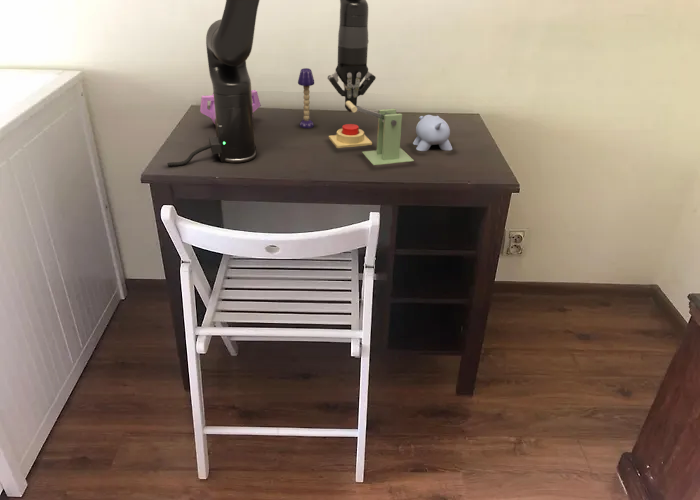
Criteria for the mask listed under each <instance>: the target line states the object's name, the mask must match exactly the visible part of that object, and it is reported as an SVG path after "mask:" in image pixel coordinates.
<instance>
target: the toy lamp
mask: <svg viewBox="0 0 700 500" xmlns="http://www.w3.org/2000/svg"><path fill="white" fill-rule="evenodd" d="M314 78H315V77H314V75H313V71H312V69H311V68H307V67H306V68H305V67H304V68H301V69H300V71H299V74H298V79H297V84H298V85H299V86H302V87H303V91H302V93H303V119H302V120H301V121H300V122H299V127H300V128H301V129H312V128H314V127H315V124H314V121H313V120H311V119H310V108H311V107H310V102H311V101H310V99H311V98H310V97H311V96H310V87H313V86H314V85H315V79H314Z"/></svg>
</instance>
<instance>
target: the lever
mask: <svg viewBox="0 0 700 500" xmlns="http://www.w3.org/2000/svg"><path fill="white" fill-rule="evenodd" d="M346 106H347V107H348V108H349V109H350V110H351V111H352V112H351V113H357V112H358V113H362V114H365V115H368V116H371V117H374V118H377V119H378V118H380V119H382V121H383V122H384V115H389V114H390V113H387V112H385V114H384V115H383V114H380V113H378V112H377V111H374V110H370V109H367V108H364V107H362V106H359V105H357V106H356V105H354V104H353V103H351V102H350V101H347V102H346Z"/></svg>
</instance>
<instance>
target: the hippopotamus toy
mask: <svg viewBox="0 0 700 500" xmlns="http://www.w3.org/2000/svg"><path fill="white" fill-rule="evenodd" d="M418 119H419V121H417V122H418V123H417V124H416V127H415V133H416V137H415V138H414V141H413V142H412V144H413V145H414V146H416V148H415V150H416V151H419V152H420V151H421V152H427V151H429V150H430V149H431V146H435V145H438V147H439V148H440V150H442V151H452V150H453V146H452V144H451V141H450V140H449V138H450V135H451V129H450V126H449V124H448V123H447V122H446V120H444V119H443V118H441V117H440V116H439V115H432V114H426V115H420V116H419V117H418Z"/></svg>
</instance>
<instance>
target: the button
mask: <svg viewBox="0 0 700 500" xmlns="http://www.w3.org/2000/svg"><path fill="white" fill-rule="evenodd" d="M341 129H342V134H345V135H357V134H358V133H359V129H360V127H359V125H358V124H356V123H355V124H354V123H345V124H343V125H342V127H341Z"/></svg>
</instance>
